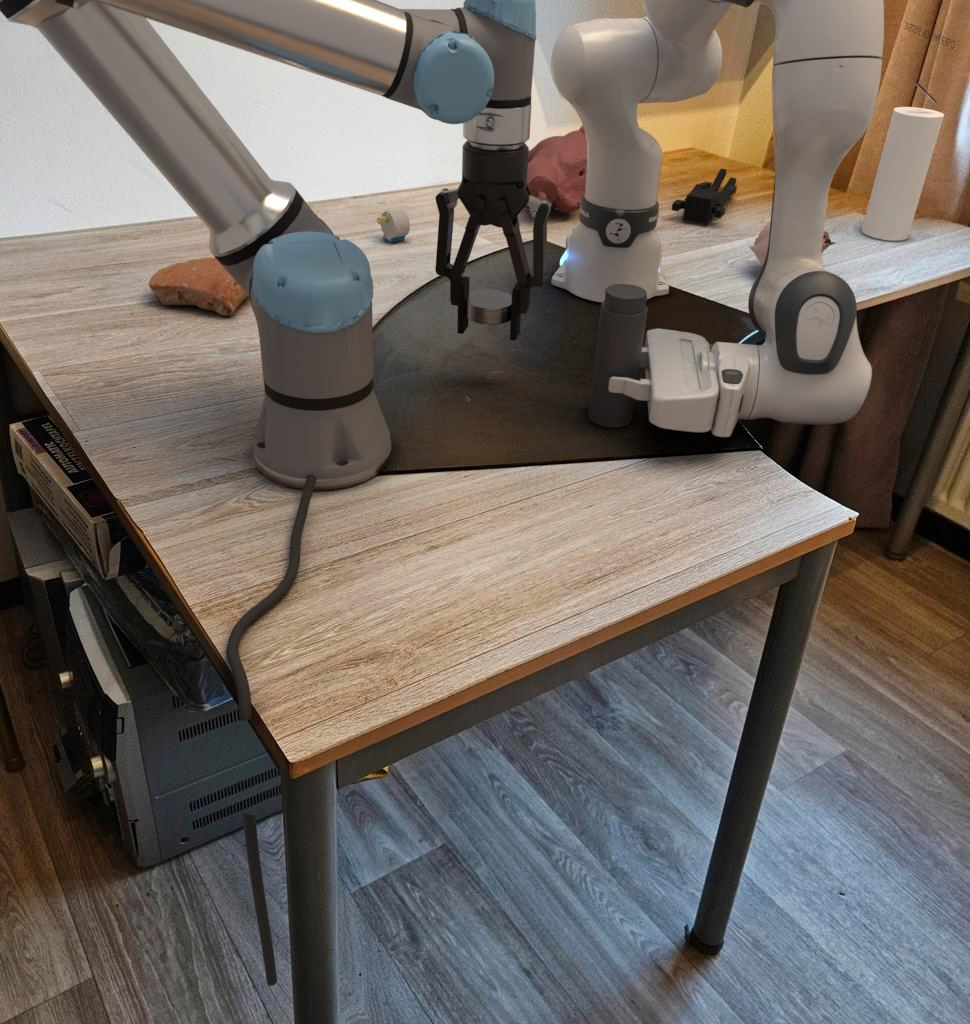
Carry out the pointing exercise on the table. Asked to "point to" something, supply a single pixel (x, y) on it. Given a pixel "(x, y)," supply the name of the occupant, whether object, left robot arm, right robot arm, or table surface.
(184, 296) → the ceramic shard
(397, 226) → the electric motor
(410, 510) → the table surface
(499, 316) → the lid
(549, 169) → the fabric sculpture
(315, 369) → the left robot arm
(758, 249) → the toy
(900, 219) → the tall white tube
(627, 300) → the jar
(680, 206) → the toy
